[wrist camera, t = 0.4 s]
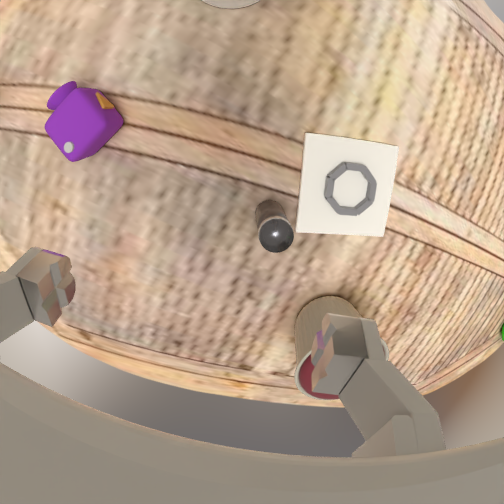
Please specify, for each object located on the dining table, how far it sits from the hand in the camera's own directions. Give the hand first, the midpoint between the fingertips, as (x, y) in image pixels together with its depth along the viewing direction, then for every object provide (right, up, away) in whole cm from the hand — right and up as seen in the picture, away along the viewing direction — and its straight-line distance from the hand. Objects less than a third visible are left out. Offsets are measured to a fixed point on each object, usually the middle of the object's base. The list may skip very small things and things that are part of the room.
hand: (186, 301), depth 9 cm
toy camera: (-27, +26, +37) cm, 52 cm away
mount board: (+19, +13, +45) cm, 51 cm away
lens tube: (+5, +8, +46) cm, 47 cm away
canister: (+18, -13, +57) cm, 61 cm away
